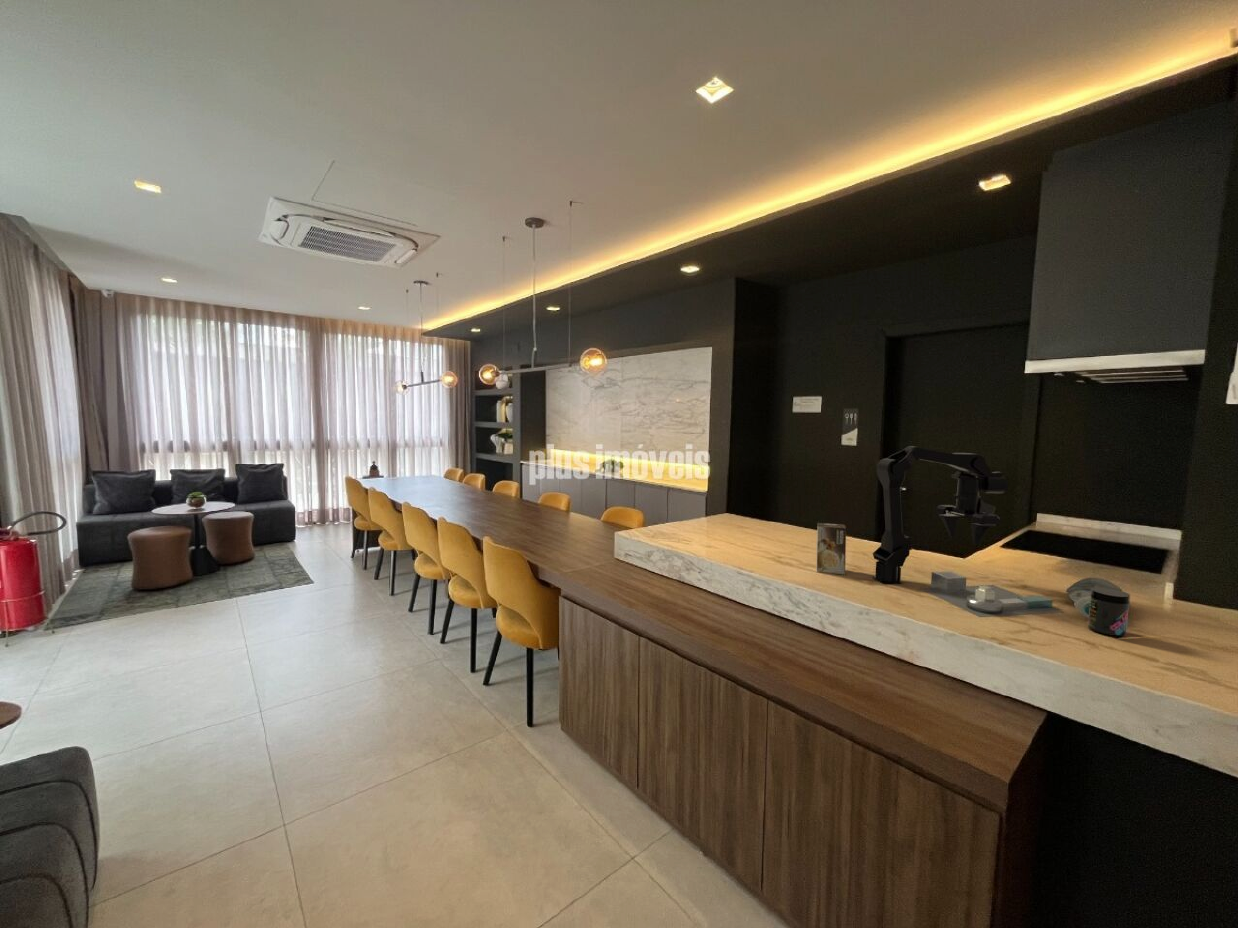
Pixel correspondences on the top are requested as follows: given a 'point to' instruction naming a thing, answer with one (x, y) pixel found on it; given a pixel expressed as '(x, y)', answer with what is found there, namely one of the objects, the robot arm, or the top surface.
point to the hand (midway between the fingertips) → (963, 540)
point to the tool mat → (1000, 593)
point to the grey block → (948, 582)
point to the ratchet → (1003, 602)
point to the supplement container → (1108, 612)
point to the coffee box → (831, 548)
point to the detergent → (1087, 593)
